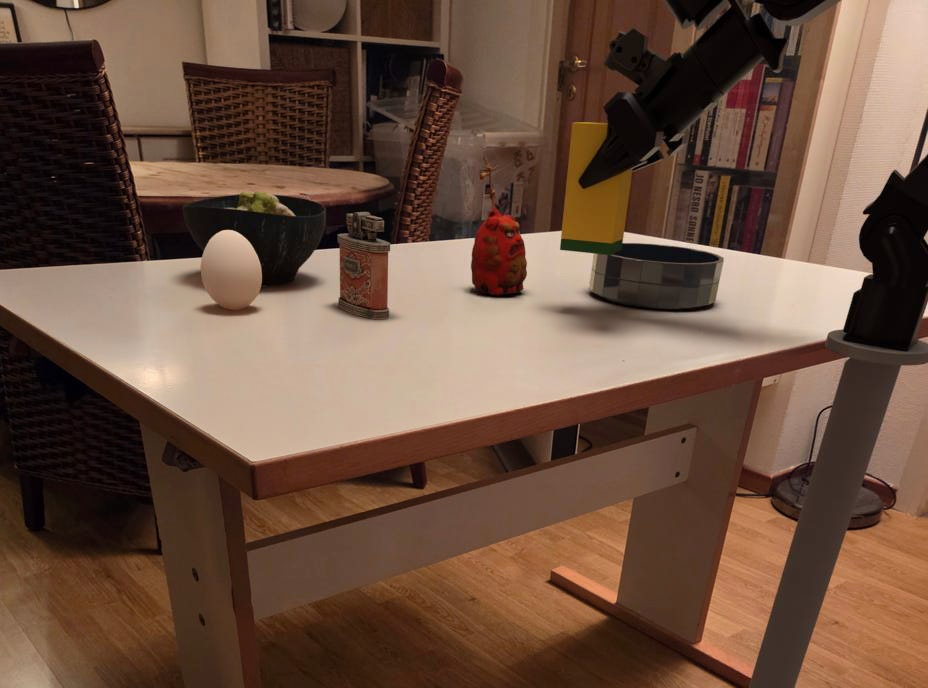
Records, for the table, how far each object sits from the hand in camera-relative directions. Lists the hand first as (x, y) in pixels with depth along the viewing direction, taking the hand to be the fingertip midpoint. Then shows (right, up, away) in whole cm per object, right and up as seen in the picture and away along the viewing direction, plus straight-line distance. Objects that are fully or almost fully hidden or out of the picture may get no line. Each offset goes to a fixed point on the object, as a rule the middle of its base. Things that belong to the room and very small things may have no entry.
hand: (587, 183), depth 96 cm
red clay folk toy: (-9, -6, +15) cm, 19 cm away
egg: (-39, -15, -2) cm, 42 cm away
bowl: (-39, -6, +13) cm, 42 cm away
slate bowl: (+11, -6, +17) cm, 21 cm away
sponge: (+1, -6, +3) cm, 7 cm away
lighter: (-25, -14, +1) cm, 29 cm away
